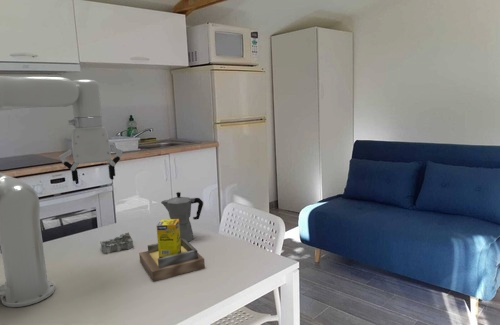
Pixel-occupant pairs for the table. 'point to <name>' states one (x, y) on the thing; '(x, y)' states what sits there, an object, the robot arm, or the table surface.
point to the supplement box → (168, 237)
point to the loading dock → (171, 261)
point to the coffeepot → (183, 213)
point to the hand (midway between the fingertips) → (94, 180)
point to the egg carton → (117, 243)
